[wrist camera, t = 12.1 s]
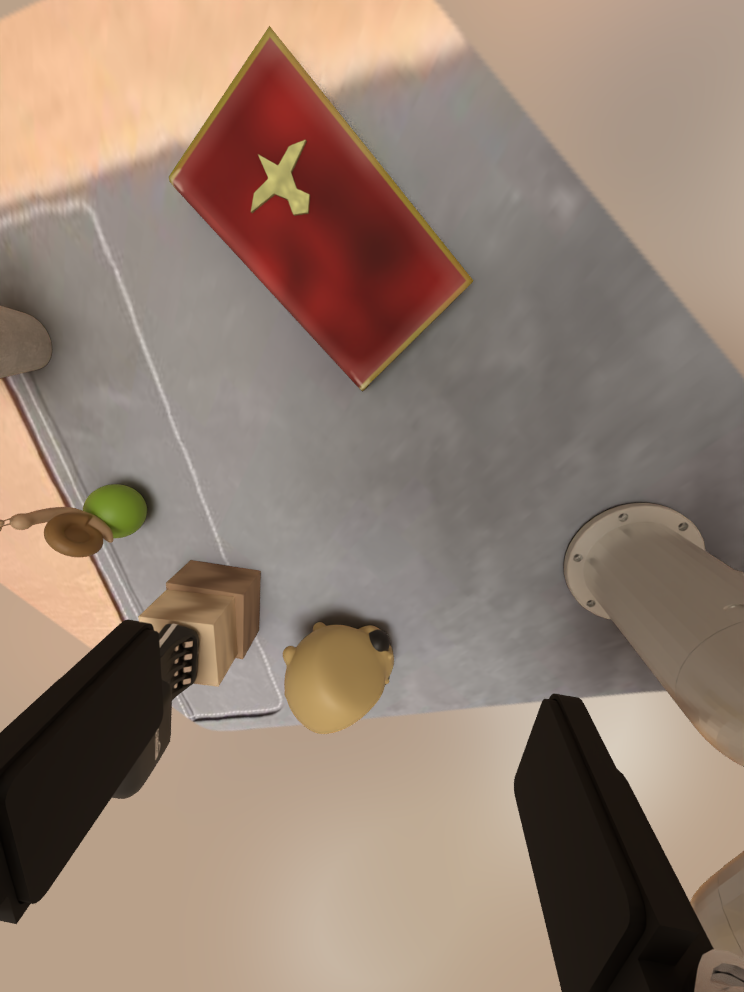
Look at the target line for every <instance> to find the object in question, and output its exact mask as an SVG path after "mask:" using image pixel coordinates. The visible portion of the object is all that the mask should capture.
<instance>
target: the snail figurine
mask: <svg viewBox="0 0 744 992" xmlns="http://www.w3.org/2000/svg"><path fill="white" fill-rule="evenodd" d="M146 515H147V506H146V503H145V500H144V499H143V497H142V496H141V495H140V494H139V493H138V492H137V491H136V490H134V489H133V488H131V487H128V486H125V485H120V484H111V485H106V486H103V487H100V488H98V489H96V490H95V491H94V492H92V493H91V494H90V495H89V496H88V498H87V499H86V501H85V503H84V506H83V511H82V510H79V509H76V508H71V507H55V508H47V509H42V510H37V511H33V512H30V513H26V514H17V515H14V516H12V517H11V518H10V519H7V520H10V523H9V524H6V525H11V526H12V527H13V528H15V529H18V530H25V529H28V528H29V527H31V526H32V525H35V524H40V523H45V522H48V523H47V524H46V526H45V529H44V537H45V540H46V542H47V543H48V544H49V545H50V547H52V548H53V549H54V550H55V551H57V552H59V553H61V554H64V555H67V556H71V557H87V556H90V555H93V554H95V553H97V552H98V551H99V550H100V549H101V548H102V546H103V539H105V540H106V541H108V542H113V538H122V537H126V536H128V535H131V534H133V533H134V532H136V531H137V530H138V529H139V528H140V527H141V526H142V525H143V523H144V521H145V519H146ZM4 521H6V520H4ZM4 521H3V520H0V531H1V530H2V528H1V527H3V526H6V525H4Z"/></svg>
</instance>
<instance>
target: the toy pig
mask: <svg viewBox="0 0 744 992" xmlns="http://www.w3.org/2000/svg"><path fill="white" fill-rule="evenodd" d="M283 658H284V661H285V663H286V665H287V669H286V673H285V683H284V685H285V697H286V699H287V702H288V704H289V707H290V709H291V711H292V712H293V714H294V715H295V717H296V718H297V719H298V720H299V721H300V722H301V723H302V724H303V725H304V726H305V727H306V728H308V729H309V730H311V731H313V732H315V733H319V734H328V733H333V732H337V731H340V730H342V729H345V728H347V727H349V726H351V725H352V724H354V723H355V722H357V721H358V720H360V719H361V718H362V717H363V716H364V715H365V714H367V713H368V712H369V711H370V710H371V708H372V707H373V706H374V705H375V704H376V703H377V701H378V700H379V698H380V697H381V695H382V693H383V690H384V687H385V685H386V684H388V683H389V677H390V674H391V672H392V669H393V665H394V656H393V651H392V648H391V646H390V639H389V637H388V635H387V634H386V632H384V631H383V630H380V629H379V628H377V627H375V626H371V625H369V626H364V627H361V628H359V629H356V628H352V627H349V626H345V625H329V626H326V625H325V624H324V623H322V622H318V623H316V624H315V625H314V627H313V632H312V633H310V634H309V635H308V636H306V637H305V638H304V639H303V640H302V641H301V642H300V643H299V645H298V646H297V647H293V646H288V647H286V648H285V649H284V651H283Z"/></svg>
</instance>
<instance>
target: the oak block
mask: <svg viewBox="0 0 744 992" xmlns="http://www.w3.org/2000/svg"><path fill="white" fill-rule="evenodd" d="M138 618H139V622H145V623H150V624H152V625H153V627H154V631H157V632H158V633H159V632H160V631H161V630H162V628H163V627H164V626H165V625H166V624H173V623H174V624H178V625H179V626H184V627H187V628H190V629H192V630H194V631H196V632H197V634H198V636H199V658H198V673H197V678H196V680H195V682H194V683H193V684H202V685H210V686H218V687H219V685H220V683H221V682H222V680H223V678H224V676H225V675H226V673H227V671H228V670H229V668H230V666H231V664H232V663H233V661H234V659H235V658H236V656H237V654H238V648H237V632H236V616H235V600H234V597H233V596H224V595H214V594H205V593H195V592H186V591H176V590H166V591H165V592H164V593H163V594H162V595H161V596H160V597H159V598H157V599H156V600H155V601H154V602H153V603H152V604H151V605H150V606H149V607H148V608H147V609H146V610H145V611H144V612H143V613H142V614H141V615H140V616H138Z"/></svg>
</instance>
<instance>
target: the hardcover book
mask: <svg viewBox="0 0 744 992" xmlns="http://www.w3.org/2000/svg"><path fill="white" fill-rule="evenodd" d="M169 180H170V182H171V184H172V185H173V186H174V187H175V189H176V190H177V191H178V192H179V193H180V194H181V195H182V196H183V197H184V198H185V199H186V200H187V202H188V203H189V204H190V205H191V206H192V207H193V208H194V209H195V210H196V211H197V212H198V214H199V215H200V216H201V217H202V218H203V219H204V220H205V221H206V222H207V223H208V224H209V225H210V227H211V228H212V229H213V230H214V231H215V232H216V233H217V234H218V235H219V236H220V237H221V239H222V240H223V241H224V242H225V243H226V244H227V245H228V246H229V247H230V248H231V249H232V250H233V252H234V253H235V254H236V255H237V256H238V257H239V258H240V259H241V260H242V261H243V262H244V264H245V265H246V266H247V267H248V268H249V269H250V270H251V271H252V272H253V273H254V274H255V275H256V277H257V278H258V279H259V280H260V281H261V282H262V283H263V284H264V285H265V286H266V287H267V289H268V290H269V291H270V292H271V293H272V294H273V295H274V296H275V297H276V298H277V299H278V300H279V302H280V303H281V304H282V305H283V306H284V307H285V308H286V309H287V310H288V311H289V312H290V314H291V315H292V316H293V317H294V318H295V319H296V320H297V321H298V322H299V323H300V324H301V325H302V327H303V328H304V329H305V330H306V331H307V332H308V333H309V334H310V335H311V336H312V337H313V339H314V340H315V341H316V342H317V343H318V344H319V345H320V346H321V347H322V348H323V349H324V350H325V352H326V353H327V354H328V355H329V356H330V357H331V358H332V359H333V360H334V361H335V362H336V364H337V365H338V366H339V367H340V368H341V369H342V370H343V371H344V372H345V373H346V374H347V376H348V377H349V378H350V379H351V380H352V381H353V382H354V383H355V384H356V385H357V386H358V387H359V389H360V390H361V391H364V390H365V389H366V388H367V387H368V386H369V384H370V383H371V382H372V381H373V380H374V379H375V378H376V377H377V376H378V375H379V374H380V373H381V372H382V371H383V370H384V369H385V368H386V367H387V366H388V365H389V364H390V363H391V362H392V361H393V360H394V359H395V358H396V357H397V356H398V355H399V354H400V353H401V352H402V351H403V350H404V349H405V348H406V347H407V346H408V345H409V344H410V343H411V342H412V341H413V340H414V339H415V338H416V337H417V336H418V335H419V334H420V333H421V332H422V331H423V330H424V329H425V328H427V327H428V326H429V325H430V324H431V323H432V322H433V321H434V320H435V319H436V318H437V317H438V316H439V315H440V314H441V313H442V312H443V311H444V310H445V309H446V308H447V307H448V306H449V305H450V304H451V303H452V302H453V301H454V300H455V299H456V298H457V297H458V296H459V295H460V294H461V293H462V292H463V291H464V290H465V289H466V288H467V287H468V286H469V285H470V284H471V283H472V282H473V280H472V278H471V277H470V276H469V275H468V273H467V272H466V271H465V270H464V268H463V267H462V266H461V265H460V263H459V262H458V261H457V260H456V258H455V257H454V256H453V255H452V253H451V252H450V251H449V250H448V248H447V247H446V246H445V245H444V243H443V242H442V241H441V240H440V238H439V237H438V236H437V235H436V233H435V232H434V231H433V230H432V228H431V227H430V226H429V225H428V223H427V222H426V221H425V220H424V218H423V217H422V216H421V215H420V213H419V212H418V211H417V210H416V208H415V207H414V206H413V205H412V203H411V202H410V201H409V200H408V198H407V197H406V196H405V195H404V193H403V192H402V191H401V190H400V188H399V187H398V186H397V185H396V183H395V182H394V181H393V180H392V178H391V177H390V176H389V175H388V173H387V172H386V171H385V170H384V168H383V167H382V166H381V165H380V163H379V162H378V161H377V160H376V158H375V157H374V156H373V155H372V153H371V152H370V151H369V150H368V148H367V147H366V146H365V145H364V143H363V142H362V141H361V140H360V138H359V137H358V136H357V135H356V133H355V132H354V131H353V130H352V128H351V127H350V126H349V125H348V123H347V122H346V121H345V120H344V118H343V117H342V116H341V115H340V114H339V112H338V111H337V110H336V109H335V107H334V106H333V105H332V104H331V102H330V101H329V100H328V99H327V97H326V96H325V95H324V94H323V92H322V91H321V90H320V89H319V87H318V86H317V85H316V84H315V82H314V81H313V80H312V79H311V77H310V76H309V75H308V74H307V72H306V71H305V70H304V69H303V67H302V66H301V65H300V64H299V62H298V61H297V60H296V59H295V57H294V56H293V55H292V54H291V52H290V51H289V50H288V49H287V47H286V46H285V45H284V44H283V42H282V41H281V40H280V39H279V37H278V36H277V35H276V34H275V32H274V31H273V30H272V29H271V27H270V26H269V28H268V29H267V31H266V32H265V34H264V35H263V37H262V38H261V40H260V41H259V43H258V44H257V46H256V47H255V49H254V50H253V51H252V53H251V54H250V56H249V57H248V59H247V60H246V62H245V63H244V65H243V66H242V68H241V69H240V71H239V72H238V74H237V75H236V77H235V78H234V80H233V81H232V83H231V84H230V86H229V87H228V89H227V90H226V92H225V93H224V95H223V96H222V98H221V99H220V101H219V102H218V104H217V105H216V107H215V108H214V110H213V111H212V113H211V114H210V116H209V117H208V119H207V120H206V122H205V123H204V125H203V126H202V128H201V129H200V131H199V132H198V134H197V135H196V137H195V138H194V140H193V141H192V143H191V144H190V146H189V147H188V149H187V150H186V152H185V153H184V155H183V156H182V158H181V159H180V161H179V162H178V164H177V165H176V167H175V168H174V170H173V171H172V173H171V174H170V176H169Z"/></svg>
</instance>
